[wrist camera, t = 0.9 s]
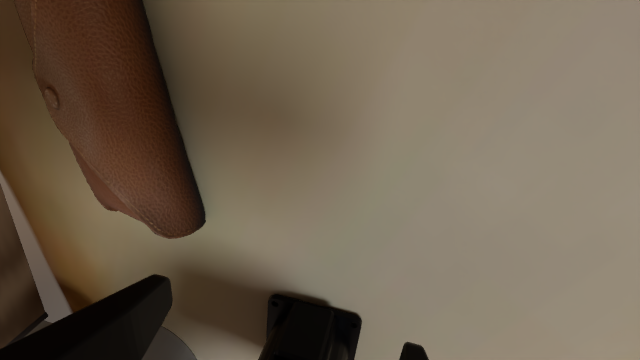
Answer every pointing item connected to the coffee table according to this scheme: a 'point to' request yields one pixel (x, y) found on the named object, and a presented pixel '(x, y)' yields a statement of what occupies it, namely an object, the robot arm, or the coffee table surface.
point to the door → (15, 281)
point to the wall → (32, 327)
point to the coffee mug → (167, 347)
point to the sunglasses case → (114, 108)
